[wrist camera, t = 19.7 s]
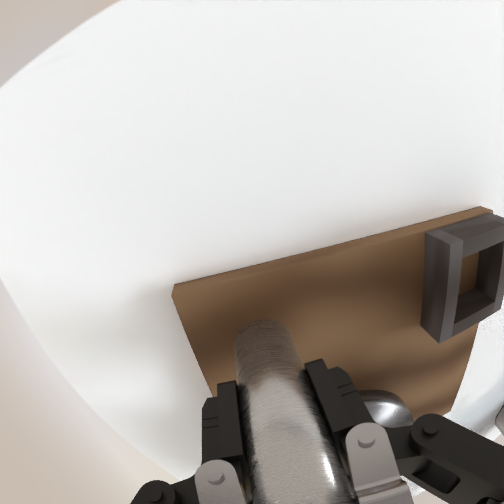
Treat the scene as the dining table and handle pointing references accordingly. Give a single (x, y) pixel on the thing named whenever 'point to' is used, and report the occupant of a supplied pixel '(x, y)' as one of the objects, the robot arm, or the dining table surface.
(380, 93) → the dining table surface
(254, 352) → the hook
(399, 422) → the handwheel
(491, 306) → the board
